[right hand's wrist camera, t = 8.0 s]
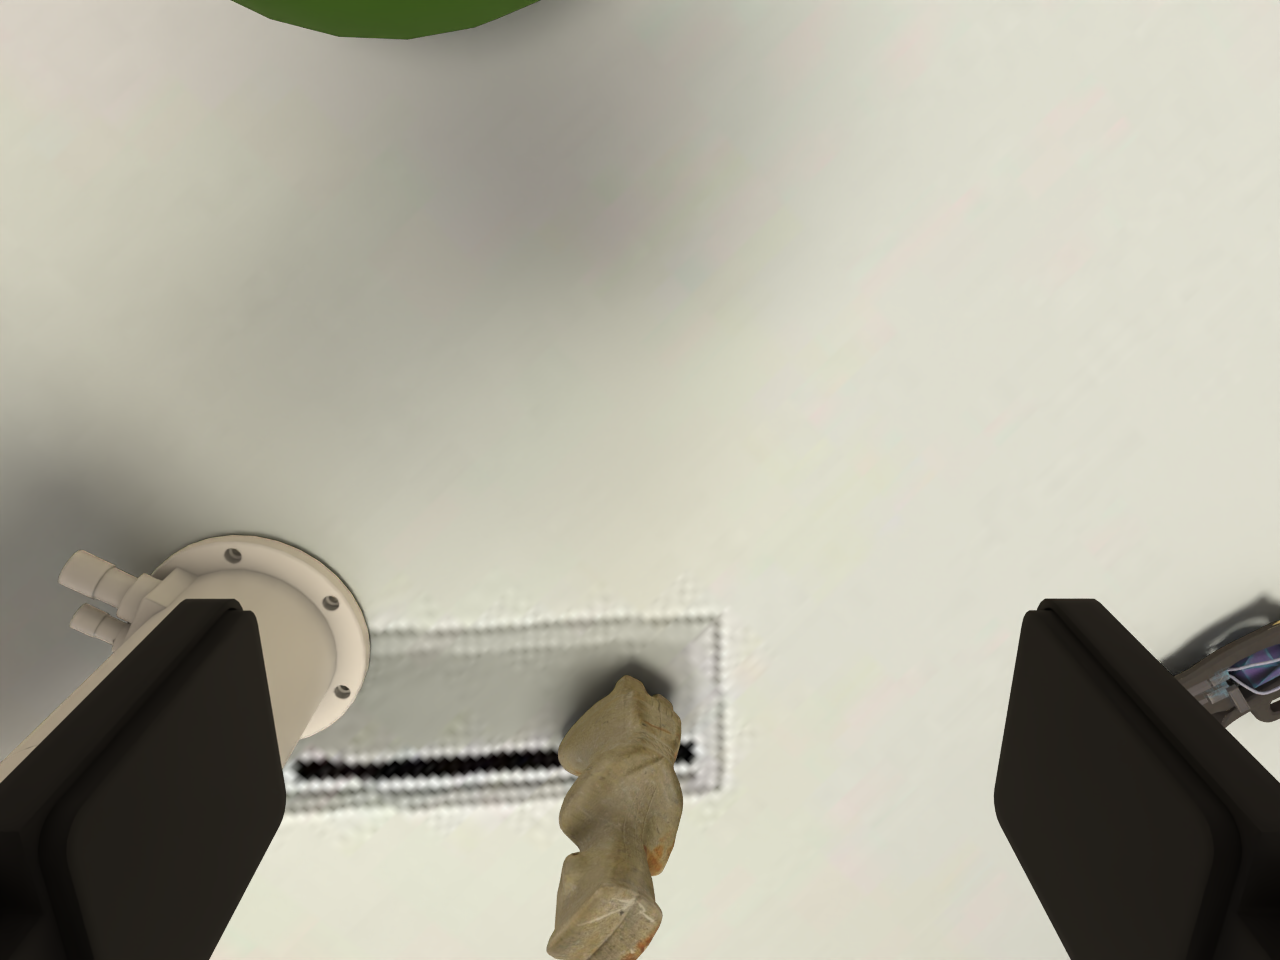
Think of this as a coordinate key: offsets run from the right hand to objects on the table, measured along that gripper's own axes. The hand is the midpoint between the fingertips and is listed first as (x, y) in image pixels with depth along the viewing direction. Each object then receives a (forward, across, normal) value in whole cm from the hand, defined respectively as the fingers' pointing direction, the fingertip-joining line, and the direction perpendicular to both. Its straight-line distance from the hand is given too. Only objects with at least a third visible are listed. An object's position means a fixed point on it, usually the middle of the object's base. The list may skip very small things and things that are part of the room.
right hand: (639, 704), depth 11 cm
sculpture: (+35, -1, -24) cm, 42 cm away
